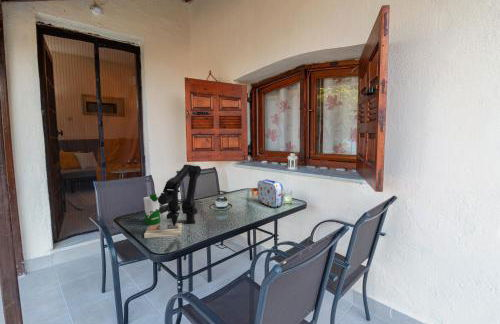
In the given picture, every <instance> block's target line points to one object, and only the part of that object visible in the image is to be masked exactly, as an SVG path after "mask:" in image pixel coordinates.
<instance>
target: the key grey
mask: <svg viewBox="0 0 500 324" xmlns="http://www.w3.org/2000/svg"><path fill="white" fill-rule="evenodd" d="M168 224H169V222H167V221H166V222H160V223H159V225H160V230H167V229H168Z"/></svg>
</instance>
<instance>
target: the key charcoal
mask: <svg viewBox="0 0 500 324" xmlns="http://www.w3.org/2000/svg"><path fill="white" fill-rule="evenodd" d="M170 224H171V229H178V224H179V223H176V224H175V226H173V223H170Z"/></svg>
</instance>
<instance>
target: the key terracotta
mask: <svg viewBox="0 0 500 324" xmlns="http://www.w3.org/2000/svg"><path fill="white" fill-rule="evenodd" d="M155 225H156V226H151V227H150V231H154V230H158V225H159V224H155Z"/></svg>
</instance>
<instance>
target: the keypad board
mask: <svg viewBox="0 0 500 324" xmlns="http://www.w3.org/2000/svg"><path fill="white" fill-rule="evenodd" d="M171 224H172V223H168V229H167V230H160V224H155V225H148V227H147V229H146V230H145V231H144V234H143V235H144V239H149V238H150V239H151V238H164V237H176V236H181V233H182V229H183V223H182V222H181V223H177V224H178V229H171ZM156 225H158V230H154V231H150V227H151V226H156Z"/></svg>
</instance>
